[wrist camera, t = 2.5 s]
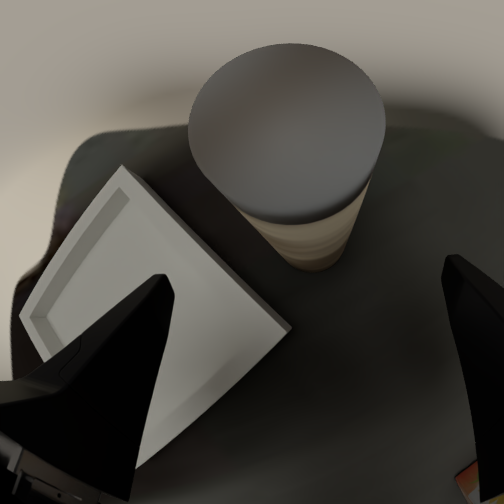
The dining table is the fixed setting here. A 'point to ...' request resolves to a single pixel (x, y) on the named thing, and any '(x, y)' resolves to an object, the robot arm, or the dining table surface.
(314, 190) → the handle post
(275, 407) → the dining table surface
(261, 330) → the tray
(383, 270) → the dining table surface
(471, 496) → the cracker box
